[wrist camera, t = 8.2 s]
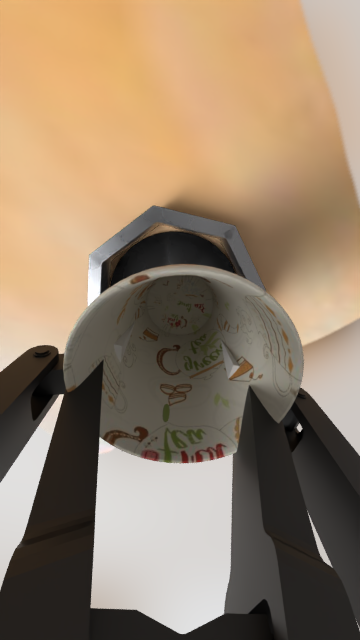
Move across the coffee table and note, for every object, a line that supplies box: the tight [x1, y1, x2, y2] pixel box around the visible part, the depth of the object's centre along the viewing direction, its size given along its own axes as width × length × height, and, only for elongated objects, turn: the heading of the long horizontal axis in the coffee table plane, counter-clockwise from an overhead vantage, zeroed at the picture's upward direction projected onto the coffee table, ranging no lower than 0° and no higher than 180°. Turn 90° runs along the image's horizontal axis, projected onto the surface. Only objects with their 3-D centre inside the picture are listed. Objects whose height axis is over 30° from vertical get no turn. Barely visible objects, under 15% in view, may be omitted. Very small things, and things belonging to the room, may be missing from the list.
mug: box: [63, 264, 304, 463], centre depth 12 cm, size 8×13×10 cm, turn 172°
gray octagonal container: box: [88, 206, 266, 306], centre depth 22 cm, size 18×18×3 cm
